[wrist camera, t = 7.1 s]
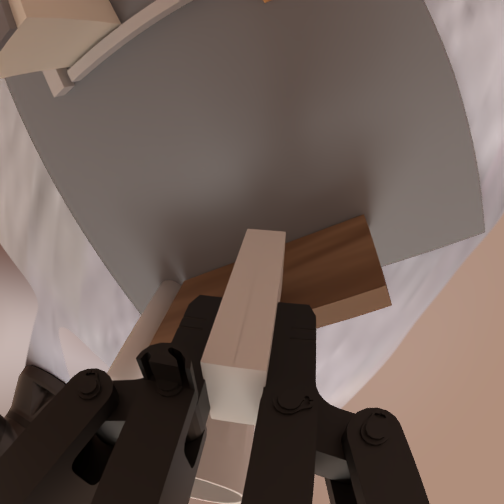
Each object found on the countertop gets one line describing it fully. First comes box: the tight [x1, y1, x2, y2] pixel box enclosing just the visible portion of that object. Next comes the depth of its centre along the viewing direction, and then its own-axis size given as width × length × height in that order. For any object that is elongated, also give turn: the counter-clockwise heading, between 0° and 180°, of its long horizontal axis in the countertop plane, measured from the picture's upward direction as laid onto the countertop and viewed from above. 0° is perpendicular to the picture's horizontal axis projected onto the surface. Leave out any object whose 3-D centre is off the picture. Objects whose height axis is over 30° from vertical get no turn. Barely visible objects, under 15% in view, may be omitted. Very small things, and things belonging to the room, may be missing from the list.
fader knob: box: [0, 0, 122, 79], centre depth 9 cm, size 4×4×7 cm
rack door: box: [149, 214, 392, 346], centre depth 16 cm, size 2×12×6 cm, turn 118°
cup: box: [190, 412, 254, 504], centre depth 22 cm, size 8×8×12 cm
